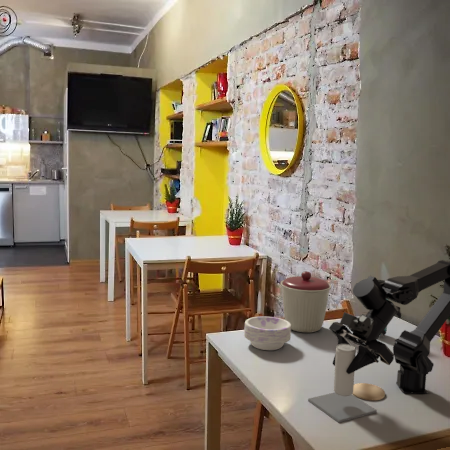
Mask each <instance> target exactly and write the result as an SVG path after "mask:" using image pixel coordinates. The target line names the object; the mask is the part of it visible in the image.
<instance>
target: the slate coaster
mask: <svg viewBox="0 0 450 450" xmlns="http://www.w3.org/2000/svg"><path fill="white" fill-rule="evenodd" d="M307 400H308V402H309V403H311V405H313V406H315V407H316V408H318V409H319V410H321V411H322V412H323V413H324V414H325V415H327V416H329V417H330V418H331V419H333V420H334V421H335V422H337V423H342V422H346V421H349V420H354V419H356V418H361V417H363V416H368V415H373V414H376V413H377V410H378V409H375V408H374V407H372V406H371V405H370V404H367V403H366V402H364V401H363V400H362V399H360V398H358V397H356V396H354V395H353V394H351V395H350V396H340V395H338V394H336V393H335V391H334V392H331V393H327V394H323V395H318V396H314V397H310V398H308V399H307Z"/></svg>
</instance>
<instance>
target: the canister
mask: <svg viewBox="0 0 450 450" xmlns="http://www.w3.org/2000/svg"><path fill="white" fill-rule="evenodd" d="M280 286H281V287H282V301H283V302H282V304H283V305H282V307H283V316H284V318H283V319H284V320H286V321H288V322H290V324H291V331H293V332H294V331H295V332H297V333H307V334H308V333H315V332H317V331H320V330H321V328H322V327H323V325H324V321H325V318H326V311H327V307H328V299H329V294H330V290H331V289H332V285H331V283H329V282H328V281H326V280H325V279H323V278H319V277H313V276H312V274H311V272H310V271H308V270H306V271H303V272H302V273H301V275H300V276H297V275H296V276H290V277H286V278H285V279H283V280H281V281H280Z"/></svg>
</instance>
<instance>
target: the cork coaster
mask: <svg viewBox="0 0 450 450" xmlns="http://www.w3.org/2000/svg"><path fill="white" fill-rule="evenodd" d="M352 395H353V396H355V397H357V398H358V399H360V400H364V401H371V402H372V401H373V402H374V401H379V400H383V399H384V398H385V396H386V392H385V390H384V388H382V387H380V386H378V385H375V384H372V383H364V382H363V383H361V382H359V383H354V387H353V393H352Z"/></svg>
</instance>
